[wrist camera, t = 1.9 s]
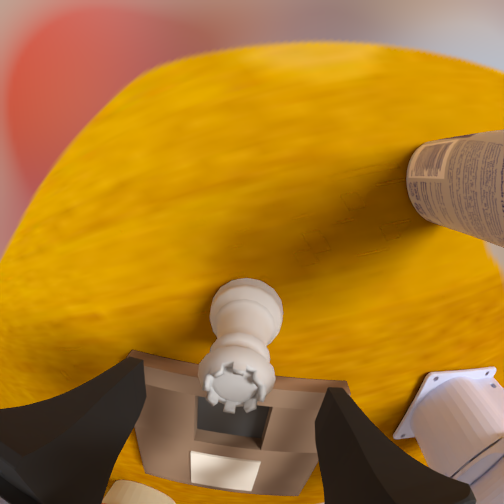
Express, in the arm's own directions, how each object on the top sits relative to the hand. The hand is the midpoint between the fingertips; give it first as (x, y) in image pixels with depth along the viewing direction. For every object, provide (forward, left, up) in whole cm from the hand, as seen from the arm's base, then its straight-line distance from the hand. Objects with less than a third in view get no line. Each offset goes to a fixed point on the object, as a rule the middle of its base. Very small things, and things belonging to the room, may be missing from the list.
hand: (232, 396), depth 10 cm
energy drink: (-11, -10, -9) cm, 17 cm away
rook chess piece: (0, 0, -9) cm, 9 cm away
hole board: (0, +13, -8) cm, 15 cm away
